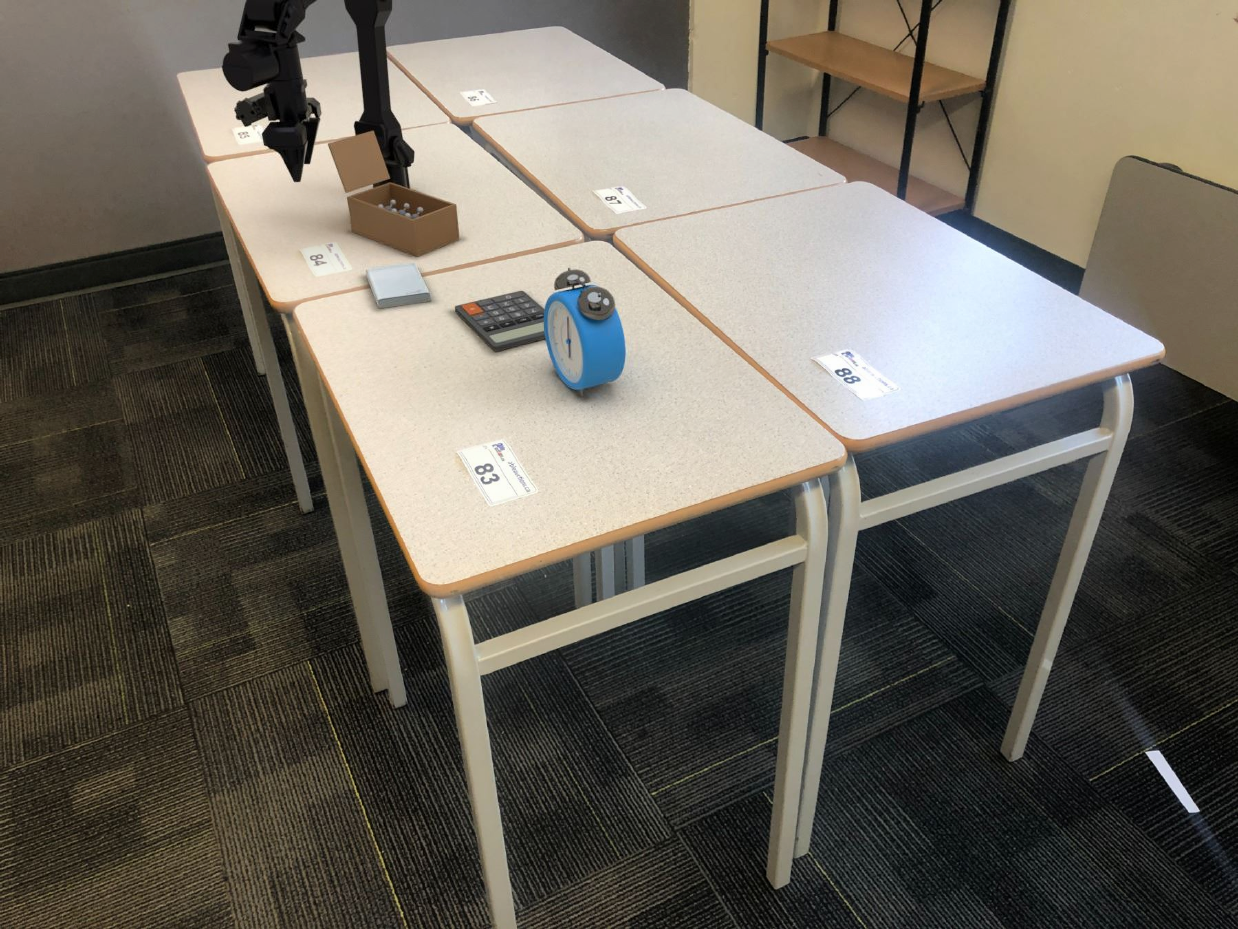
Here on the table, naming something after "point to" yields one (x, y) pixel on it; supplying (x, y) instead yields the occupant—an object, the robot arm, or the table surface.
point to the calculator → (505, 319)
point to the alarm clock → (583, 332)
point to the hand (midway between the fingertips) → (302, 172)
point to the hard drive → (397, 285)
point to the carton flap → (359, 161)
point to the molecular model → (402, 212)
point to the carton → (404, 219)
